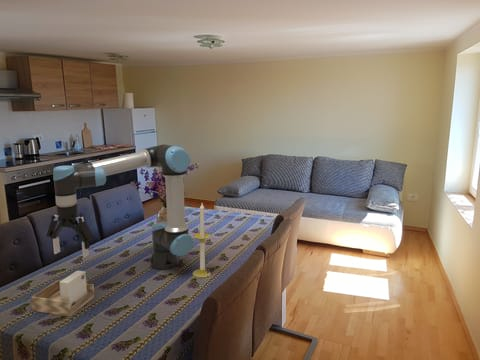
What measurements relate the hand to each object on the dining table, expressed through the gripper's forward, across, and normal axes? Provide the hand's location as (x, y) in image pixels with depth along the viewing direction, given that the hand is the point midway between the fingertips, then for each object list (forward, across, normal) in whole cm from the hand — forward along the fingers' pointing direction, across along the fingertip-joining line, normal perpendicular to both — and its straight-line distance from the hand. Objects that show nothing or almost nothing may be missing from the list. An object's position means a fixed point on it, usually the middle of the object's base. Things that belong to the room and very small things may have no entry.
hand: (71, 254), depth 150 cm
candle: (+24, -42, -42) cm, 64 cm away
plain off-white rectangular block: (+22, 0, 0) cm, 22 cm away
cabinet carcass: (+23, +6, 0) cm, 23 cm away
